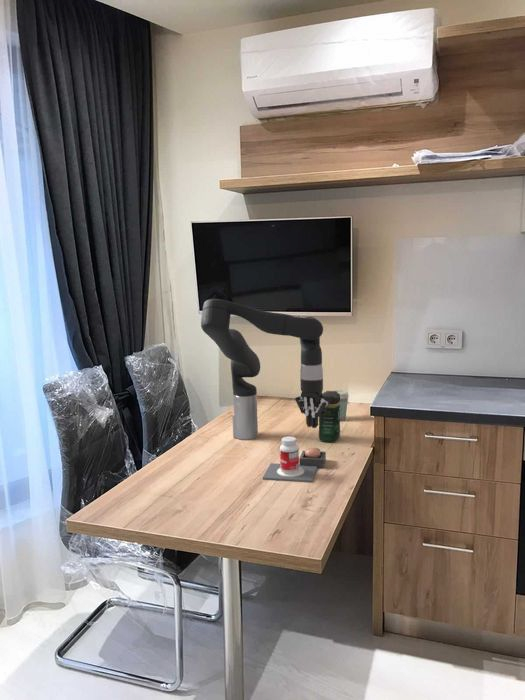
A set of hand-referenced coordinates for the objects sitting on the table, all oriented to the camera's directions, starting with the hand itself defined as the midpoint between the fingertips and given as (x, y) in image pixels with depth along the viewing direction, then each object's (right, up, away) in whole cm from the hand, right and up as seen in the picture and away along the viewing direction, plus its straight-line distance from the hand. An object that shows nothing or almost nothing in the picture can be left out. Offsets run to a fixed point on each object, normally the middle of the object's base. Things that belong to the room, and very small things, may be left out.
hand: (312, 426), depth 199 cm
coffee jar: (+9, -9, +28) cm, 30 cm away
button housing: (0, -13, +2) cm, 13 cm away
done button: (0, -10, +2) cm, 10 cm away
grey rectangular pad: (-8, -14, -6) cm, 18 cm away
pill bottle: (-8, -14, -6) cm, 17 cm away
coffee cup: (+16, -4, +53) cm, 56 cm away
